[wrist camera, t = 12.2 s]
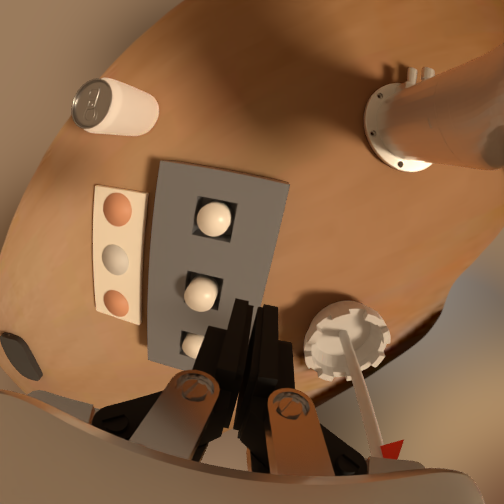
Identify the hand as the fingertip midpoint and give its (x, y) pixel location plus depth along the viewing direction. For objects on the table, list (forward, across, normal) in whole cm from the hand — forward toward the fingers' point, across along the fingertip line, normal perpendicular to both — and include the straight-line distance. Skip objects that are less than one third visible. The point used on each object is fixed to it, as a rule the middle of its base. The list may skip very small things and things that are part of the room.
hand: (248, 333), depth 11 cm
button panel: (+27, +6, +12) cm, 30 cm away
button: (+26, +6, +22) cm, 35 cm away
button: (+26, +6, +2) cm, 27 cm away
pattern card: (+27, +21, +12) cm, 36 cm away
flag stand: (+27, -16, +16) cm, 36 cm away
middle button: (+25, +6, +12) cm, 28 cm away
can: (+27, +20, -10) cm, 35 cm away
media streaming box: (+28, +59, +52) cm, 83 cm away
